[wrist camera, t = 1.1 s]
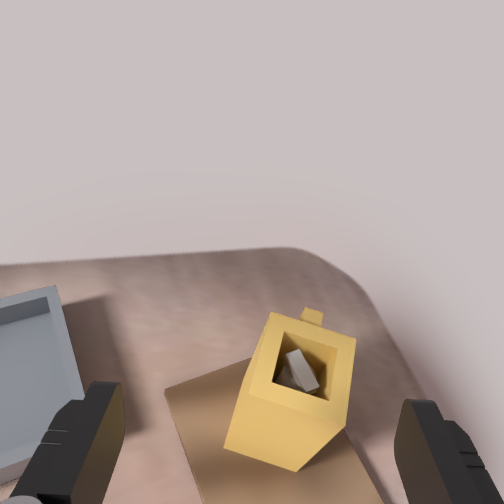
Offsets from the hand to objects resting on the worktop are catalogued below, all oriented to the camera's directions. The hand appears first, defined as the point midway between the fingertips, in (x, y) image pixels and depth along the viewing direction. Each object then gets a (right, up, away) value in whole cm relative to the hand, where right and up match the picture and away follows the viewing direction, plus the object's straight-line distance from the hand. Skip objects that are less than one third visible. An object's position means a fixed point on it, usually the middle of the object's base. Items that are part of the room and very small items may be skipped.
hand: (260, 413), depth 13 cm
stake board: (+1, -10, +19) cm, 22 cm away
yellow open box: (+1, -8, +20) cm, 21 cm away
